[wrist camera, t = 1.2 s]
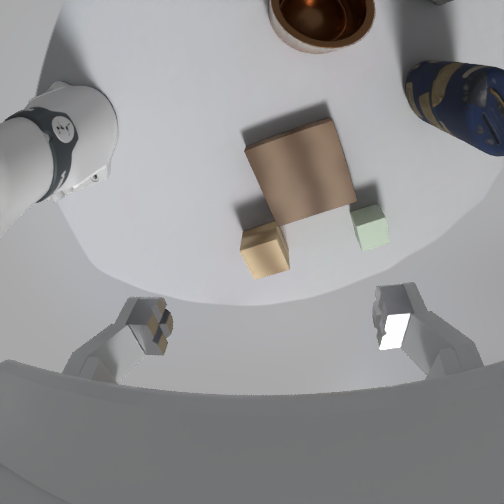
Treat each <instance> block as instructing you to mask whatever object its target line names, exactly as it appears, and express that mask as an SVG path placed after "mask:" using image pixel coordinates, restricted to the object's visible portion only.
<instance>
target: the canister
mask: <svg viewBox="0 0 504 504" xmlns="http://www.w3.org/2000/svg"><path fill="white" fill-rule="evenodd" d="M406 95H407V99H408V102H409V105H410V107H411V109H412V110H413V111H414V113H415V114H416V115H417V116H418V117H419V118H420V119H422V120H423V121H425V122H427V123H429V124H431V125H433V126H435V127H437V128H439V129H440V130H442V131H444V132H447V133H449V134H450V135H452V136H454V137H456V138H458V139H461V140H463V141H465V142H466V143H468V144H470V145H472V146H474V147H475V148H477V149H479V150H481V151H483V152H485V153H487V154H489V155H493V156H504V70H503V69H500V68H497V67H491V66H485V65H477V64H468V63H460V62H446V61H424V62H421V63H419V64H418V65H416V66H415V67H414V68H413V69H412V70H411V72H410V74H409V76H408V78H407V82H406Z"/></svg>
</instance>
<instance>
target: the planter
mask: <svg viewBox="0 0 504 504" xmlns="http://www.w3.org/2000/svg"><path fill="white" fill-rule="evenodd" d="M269 18H270V22H271V25H272V28H273V29H274V31H275V33H276V34H277V35H278V37H279V38H280V39H281V40H282V41H283V42H285V43H286V44H287V45H289V46H290V47H292V48H294V49H296V50H299V51H302V52H306V53H311V54H323V53H329V52H332V51H335V50H338V49H342V48H345V47H348V46H351V45H353V44H355V43H357V42H358V41H360V40H361V39H363V38H364V37H365V36H366V35H367V33H368V32H369V31H370V29H371V27H372V25H373V23H374V19H375V2H374V0H269Z"/></svg>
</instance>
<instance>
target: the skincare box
mask: <svg viewBox="0 0 504 504" xmlns="http://www.w3.org/2000/svg"><path fill="white" fill-rule="evenodd" d="M432 1H433V2H435V3H436V4H437V5H442V4H445V3H447V2H450V1H453V0H432Z"/></svg>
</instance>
